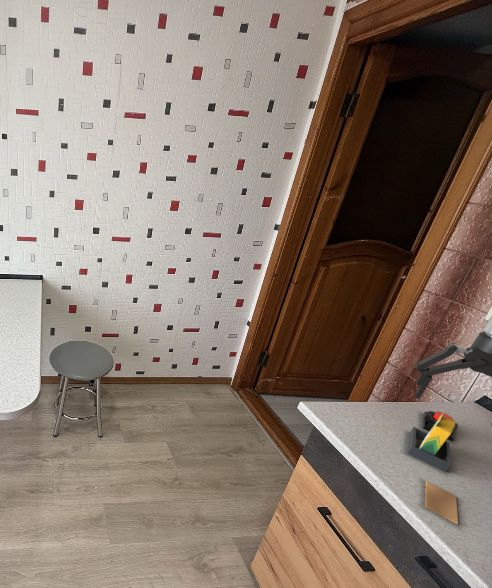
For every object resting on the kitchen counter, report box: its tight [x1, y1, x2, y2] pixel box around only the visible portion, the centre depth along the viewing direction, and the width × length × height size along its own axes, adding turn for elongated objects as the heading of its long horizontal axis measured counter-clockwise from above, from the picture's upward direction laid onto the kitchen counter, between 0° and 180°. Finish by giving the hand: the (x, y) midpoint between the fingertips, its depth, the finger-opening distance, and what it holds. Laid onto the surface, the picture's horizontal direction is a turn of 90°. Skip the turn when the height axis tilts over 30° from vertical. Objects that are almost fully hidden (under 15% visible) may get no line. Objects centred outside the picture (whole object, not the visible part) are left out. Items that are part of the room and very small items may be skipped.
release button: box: [433, 411, 454, 421], centre depth 96 cm, size 4×4×2 cm
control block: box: [422, 410, 459, 442], centre depth 96 cm, size 9×6×3 cm
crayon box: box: [417, 409, 457, 457], centre depth 86 cm, size 7×3×12 cm, turn 126°
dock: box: [407, 426, 452, 473], centre depth 88 cm, size 7×11×2 cm
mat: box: [424, 480, 459, 525], centre depth 74 cm, size 5×9×1 cm, turn 135°
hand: (453, 411), depth 82 cm, fingers open, 13 cm apart
